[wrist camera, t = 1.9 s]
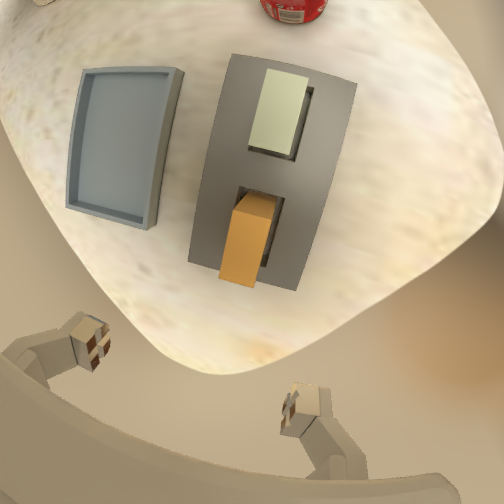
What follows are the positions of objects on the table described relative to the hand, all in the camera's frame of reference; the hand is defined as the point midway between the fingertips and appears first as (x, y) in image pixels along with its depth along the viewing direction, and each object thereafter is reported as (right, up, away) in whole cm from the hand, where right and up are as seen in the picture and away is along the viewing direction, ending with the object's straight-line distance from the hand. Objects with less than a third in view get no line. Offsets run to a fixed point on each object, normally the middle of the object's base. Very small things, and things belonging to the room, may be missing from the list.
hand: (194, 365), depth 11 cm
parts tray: (-13, +18, +18) cm, 29 cm away
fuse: (+5, +18, +15) cm, 24 cm away
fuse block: (+4, +13, +18) cm, 22 cm away
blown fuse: (+3, +8, +20) cm, 22 cm away
